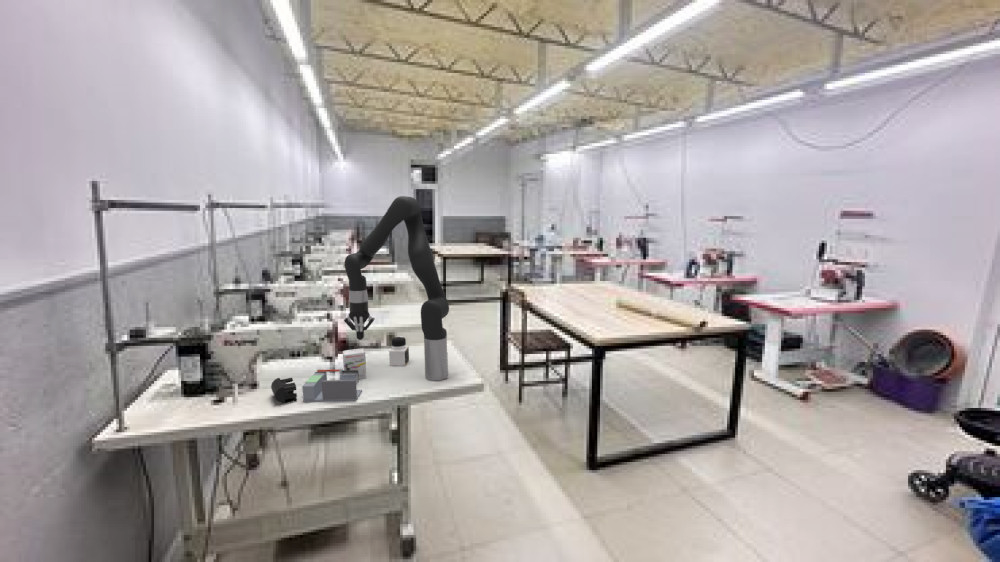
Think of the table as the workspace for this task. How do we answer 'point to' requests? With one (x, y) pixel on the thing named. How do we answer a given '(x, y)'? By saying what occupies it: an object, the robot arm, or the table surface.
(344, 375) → the plunger
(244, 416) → the table surface
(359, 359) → the ink box
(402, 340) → the medicine bottle
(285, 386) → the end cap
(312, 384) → the gauge body
